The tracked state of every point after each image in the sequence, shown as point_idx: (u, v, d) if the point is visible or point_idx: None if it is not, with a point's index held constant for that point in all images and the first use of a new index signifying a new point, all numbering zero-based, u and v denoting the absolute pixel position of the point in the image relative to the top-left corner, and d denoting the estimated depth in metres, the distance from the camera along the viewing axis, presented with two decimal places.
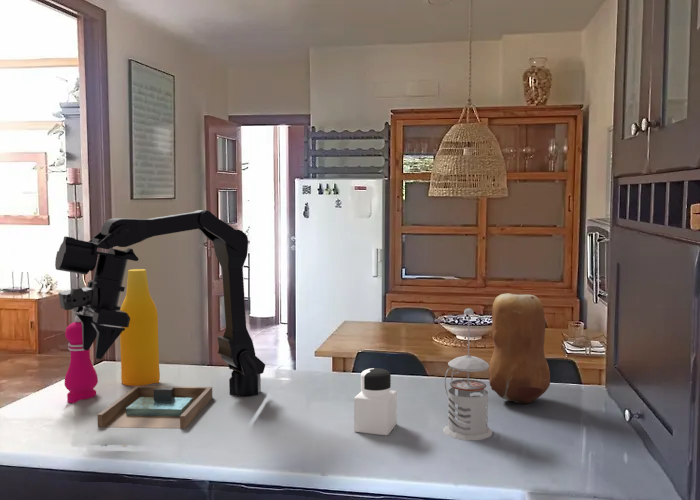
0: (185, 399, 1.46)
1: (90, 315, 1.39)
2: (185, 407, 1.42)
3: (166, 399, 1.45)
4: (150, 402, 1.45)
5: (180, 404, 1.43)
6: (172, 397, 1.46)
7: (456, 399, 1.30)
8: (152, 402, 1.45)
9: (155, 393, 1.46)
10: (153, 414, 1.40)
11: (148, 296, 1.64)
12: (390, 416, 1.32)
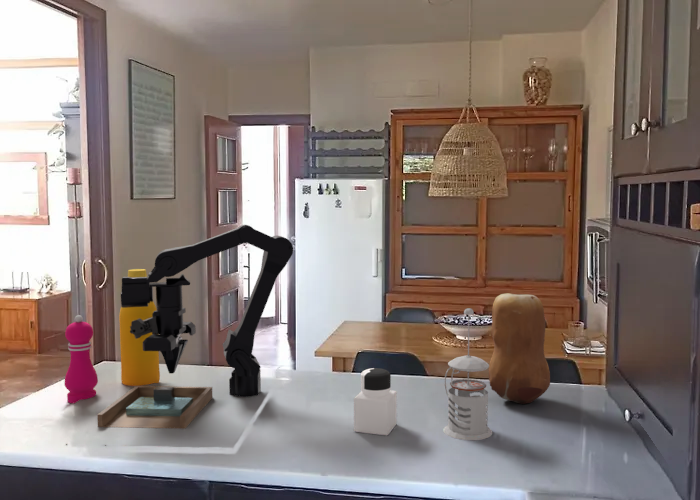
0: (185, 399, 1.46)
1: None
2: (185, 407, 1.42)
3: (166, 399, 1.45)
4: (150, 402, 1.45)
5: (180, 404, 1.43)
6: (172, 397, 1.46)
7: (456, 399, 1.30)
8: (152, 402, 1.45)
9: (155, 393, 1.46)
10: (153, 414, 1.40)
11: None
12: (390, 416, 1.32)
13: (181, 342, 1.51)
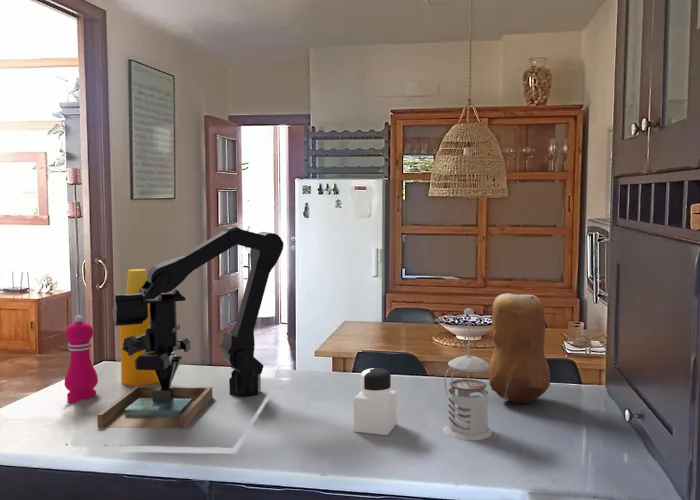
0: (184, 400, 1.46)
1: None
2: (184, 408, 1.42)
3: (165, 400, 1.45)
4: (149, 403, 1.44)
5: (179, 405, 1.42)
6: (171, 398, 1.45)
7: (456, 399, 1.30)
8: (151, 403, 1.44)
9: (153, 394, 1.45)
10: (152, 415, 1.39)
11: None
12: (390, 416, 1.32)
13: (175, 359, 1.47)
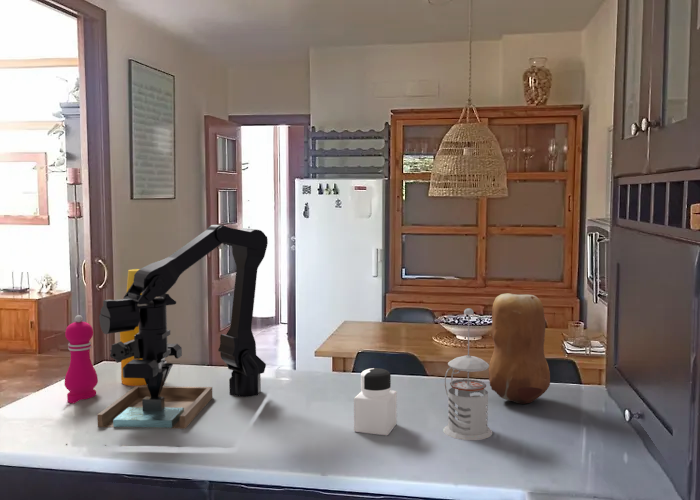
0: (176, 409, 1.40)
1: None
2: (176, 418, 1.36)
3: (156, 409, 1.39)
4: (139, 412, 1.38)
5: (170, 415, 1.36)
6: (162, 407, 1.39)
7: (456, 399, 1.30)
8: (141, 412, 1.38)
9: (143, 403, 1.39)
10: (142, 426, 1.33)
11: None
12: (390, 416, 1.32)
13: (165, 367, 1.41)
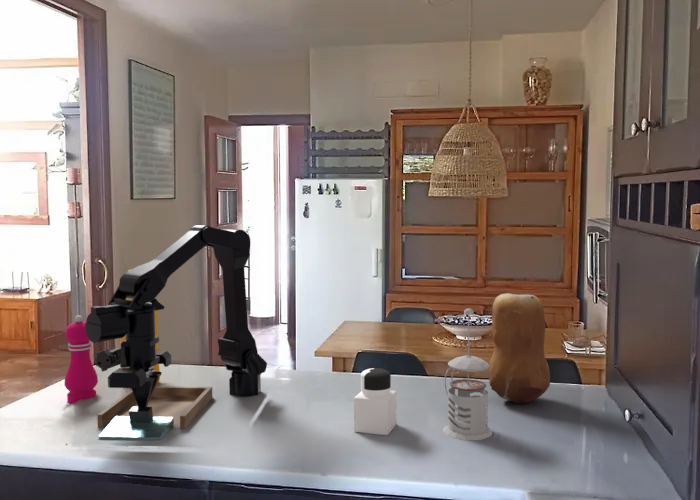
0: (164, 420, 1.33)
1: None
2: (164, 432, 1.29)
3: (143, 421, 1.32)
4: (126, 425, 1.31)
5: (158, 429, 1.29)
6: (150, 418, 1.32)
7: (456, 399, 1.30)
8: (128, 425, 1.31)
9: (130, 415, 1.32)
10: None
11: None
12: (390, 416, 1.32)
13: (153, 375, 1.34)
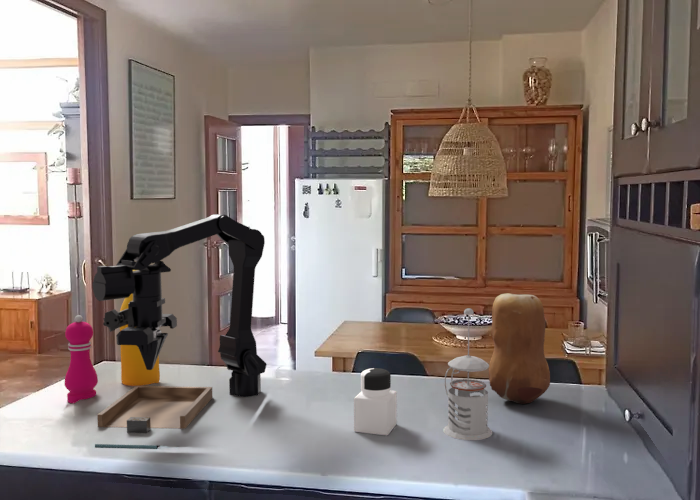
0: None
1: None
2: None
3: (141, 431, 1.30)
4: None
5: None
6: (148, 429, 1.31)
7: (456, 399, 1.30)
8: None
9: (128, 424, 1.30)
10: None
11: None
12: (390, 416, 1.32)
13: (160, 336, 1.38)
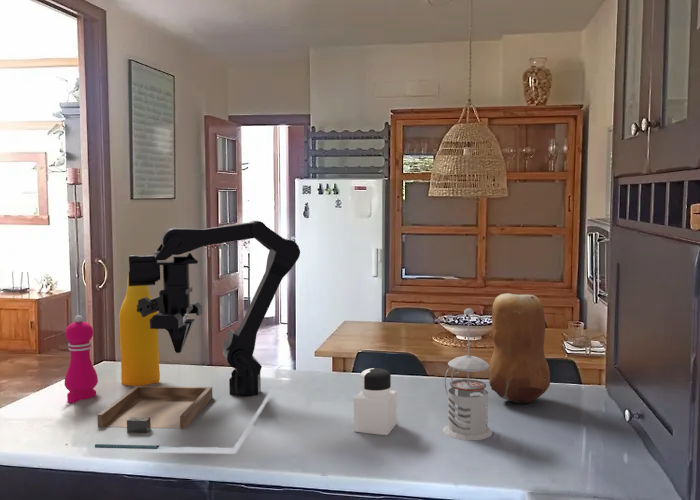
0: None
1: None
2: None
3: (141, 431, 1.30)
4: None
5: None
6: (148, 429, 1.31)
7: (456, 399, 1.30)
8: None
9: (128, 424, 1.30)
10: None
11: (148, 296, 1.64)
12: (390, 416, 1.32)
13: (188, 321, 1.50)
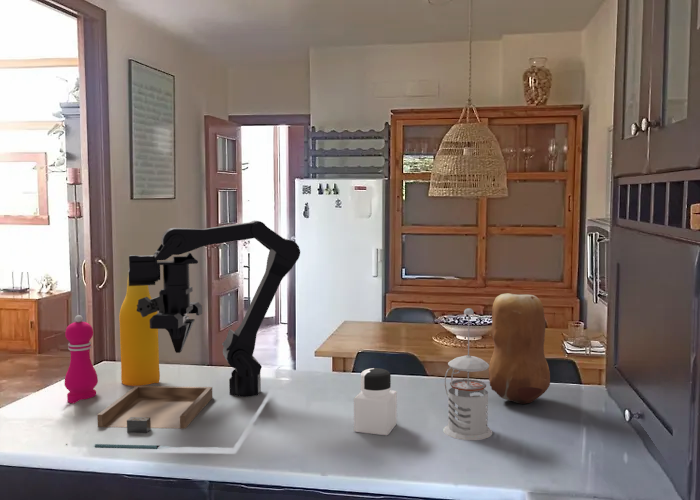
0: None
1: None
2: None
3: (141, 431, 1.30)
4: None
5: None
6: (148, 429, 1.31)
7: (456, 399, 1.30)
8: None
9: (128, 424, 1.30)
10: None
11: (148, 296, 1.64)
12: (390, 416, 1.32)
13: (188, 321, 1.50)
